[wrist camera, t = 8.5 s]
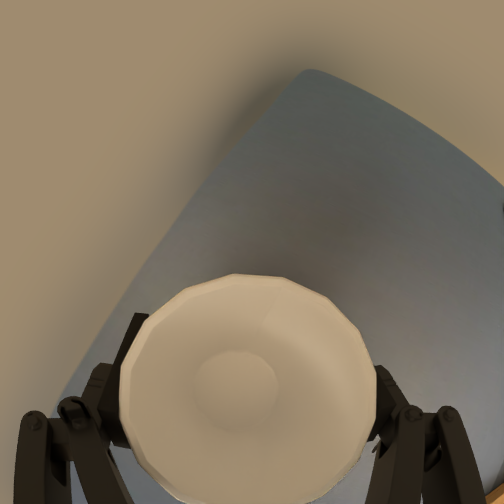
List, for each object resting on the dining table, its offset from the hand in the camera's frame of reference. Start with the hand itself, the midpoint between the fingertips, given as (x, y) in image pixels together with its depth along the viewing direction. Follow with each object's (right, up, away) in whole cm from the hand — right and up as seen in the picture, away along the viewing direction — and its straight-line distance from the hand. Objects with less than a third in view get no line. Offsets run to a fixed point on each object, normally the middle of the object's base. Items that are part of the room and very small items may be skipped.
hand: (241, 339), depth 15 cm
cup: (-1, -4, +2) cm, 5 cm away
